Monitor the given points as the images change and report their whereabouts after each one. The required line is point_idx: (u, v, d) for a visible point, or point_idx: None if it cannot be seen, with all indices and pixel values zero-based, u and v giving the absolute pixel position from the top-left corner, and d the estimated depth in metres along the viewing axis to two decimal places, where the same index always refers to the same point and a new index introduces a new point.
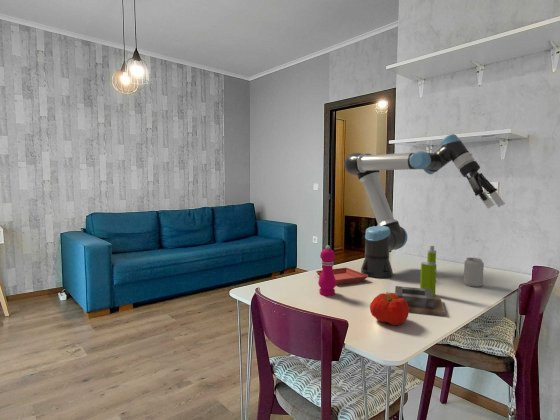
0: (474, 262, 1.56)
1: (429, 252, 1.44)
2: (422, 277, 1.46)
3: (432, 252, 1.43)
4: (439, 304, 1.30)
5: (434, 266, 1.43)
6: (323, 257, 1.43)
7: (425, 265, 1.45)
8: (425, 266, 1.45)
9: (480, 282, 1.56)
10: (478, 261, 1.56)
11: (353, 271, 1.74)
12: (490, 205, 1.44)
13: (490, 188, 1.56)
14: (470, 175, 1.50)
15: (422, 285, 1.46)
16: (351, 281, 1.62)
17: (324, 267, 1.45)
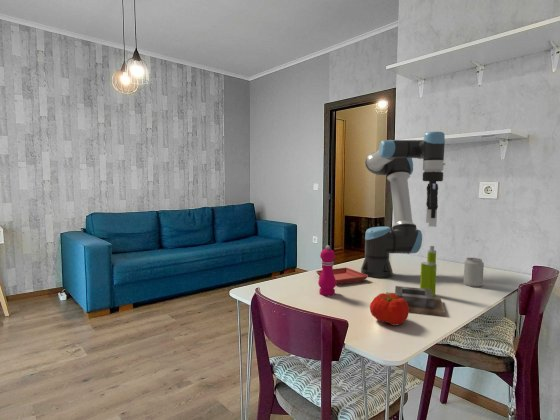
0: (474, 262, 1.56)
1: (429, 252, 1.44)
2: (422, 277, 1.46)
3: (432, 252, 1.43)
4: (439, 304, 1.30)
5: (434, 266, 1.43)
6: (323, 257, 1.43)
7: (425, 265, 1.45)
8: (425, 266, 1.45)
9: (480, 282, 1.56)
10: (478, 261, 1.56)
11: (353, 271, 1.74)
12: (433, 225, 1.37)
13: None
14: (435, 187, 1.36)
15: (422, 285, 1.46)
16: (351, 281, 1.62)
17: (324, 267, 1.45)
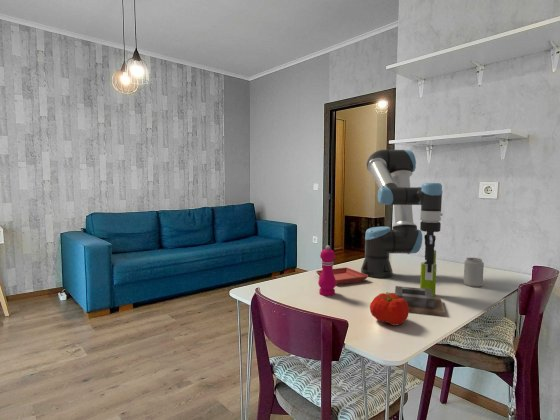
0: (474, 262, 1.56)
1: None
2: (422, 277, 1.46)
3: None
4: (439, 304, 1.30)
5: (434, 266, 1.43)
6: (323, 257, 1.43)
7: (425, 265, 1.45)
8: (425, 266, 1.45)
9: (480, 282, 1.56)
10: (478, 261, 1.56)
11: (353, 271, 1.74)
12: (429, 278, 1.43)
13: None
14: (432, 242, 1.39)
15: (422, 285, 1.46)
16: (351, 281, 1.62)
17: (324, 267, 1.45)
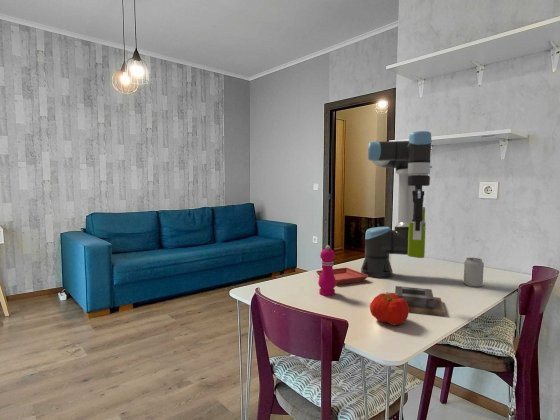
0: (474, 262, 1.56)
1: None
2: (410, 237, 1.32)
3: None
4: (439, 304, 1.30)
5: (423, 224, 1.29)
6: (323, 257, 1.43)
7: (413, 224, 1.31)
8: None
9: (480, 282, 1.56)
10: (478, 261, 1.56)
11: (353, 271, 1.74)
12: (417, 238, 1.29)
13: None
14: (420, 196, 1.25)
15: (410, 246, 1.32)
16: (351, 281, 1.62)
17: (324, 267, 1.45)
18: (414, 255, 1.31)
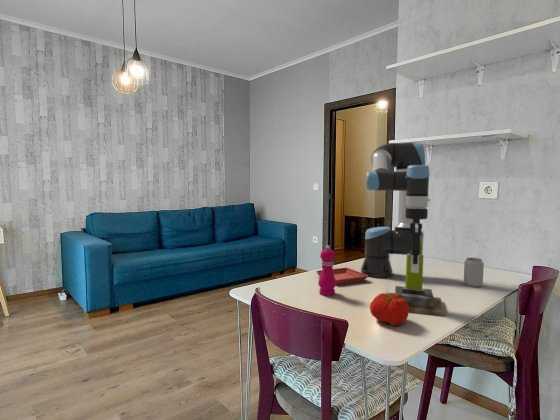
0: (474, 262, 1.56)
1: None
2: (408, 269, 1.32)
3: None
4: (439, 304, 1.30)
5: (421, 257, 1.29)
6: (323, 257, 1.43)
7: None
8: None
9: (480, 282, 1.56)
10: (478, 261, 1.56)
11: (353, 271, 1.74)
12: (415, 271, 1.29)
13: None
14: (418, 231, 1.25)
15: (407, 278, 1.32)
16: (351, 281, 1.62)
17: (324, 267, 1.45)
18: (412, 287, 1.31)
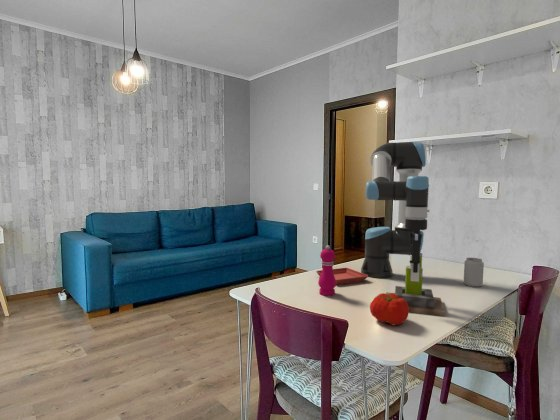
0: (474, 262, 1.56)
1: None
2: (407, 282, 1.33)
3: None
4: (439, 304, 1.30)
5: (420, 270, 1.30)
6: (323, 257, 1.43)
7: (410, 269, 1.31)
8: None
9: (480, 282, 1.56)
10: (478, 261, 1.56)
11: (353, 271, 1.74)
12: (415, 279, 1.26)
13: None
14: (418, 238, 1.25)
15: (407, 291, 1.33)
16: (351, 281, 1.62)
17: (324, 267, 1.45)
18: None
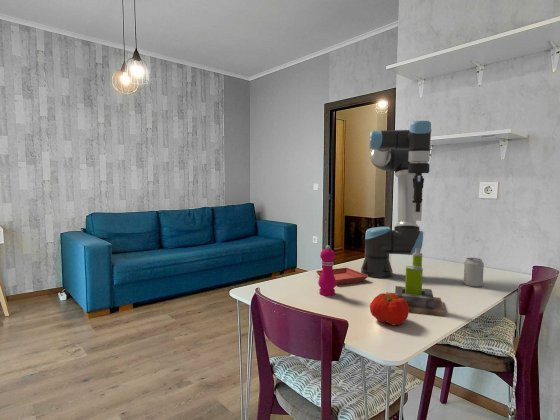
0: (474, 262, 1.56)
1: (414, 255, 1.30)
2: (407, 282, 1.33)
3: (418, 255, 1.30)
4: (439, 304, 1.30)
5: (420, 270, 1.30)
6: (323, 257, 1.43)
7: (410, 269, 1.32)
8: (411, 271, 1.31)
9: (480, 282, 1.56)
10: (478, 261, 1.56)
11: (353, 271, 1.74)
12: (417, 219, 1.32)
13: None
14: (420, 179, 1.30)
15: (407, 291, 1.33)
16: (351, 281, 1.62)
17: (324, 267, 1.45)
18: None
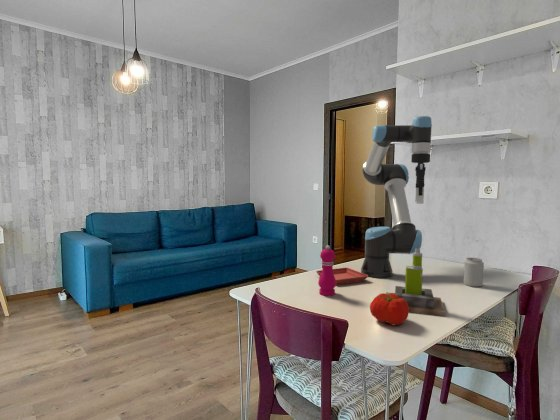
0: (474, 262, 1.56)
1: (414, 255, 1.30)
2: (407, 282, 1.33)
3: (418, 255, 1.30)
4: (439, 304, 1.30)
5: (420, 270, 1.30)
6: (323, 257, 1.43)
7: (410, 269, 1.32)
8: (411, 271, 1.31)
9: (480, 282, 1.56)
10: (478, 261, 1.56)
11: (353, 271, 1.74)
12: (420, 202, 1.49)
13: None
14: (422, 167, 1.48)
15: (407, 291, 1.33)
16: (351, 281, 1.62)
17: (324, 267, 1.45)
18: None
